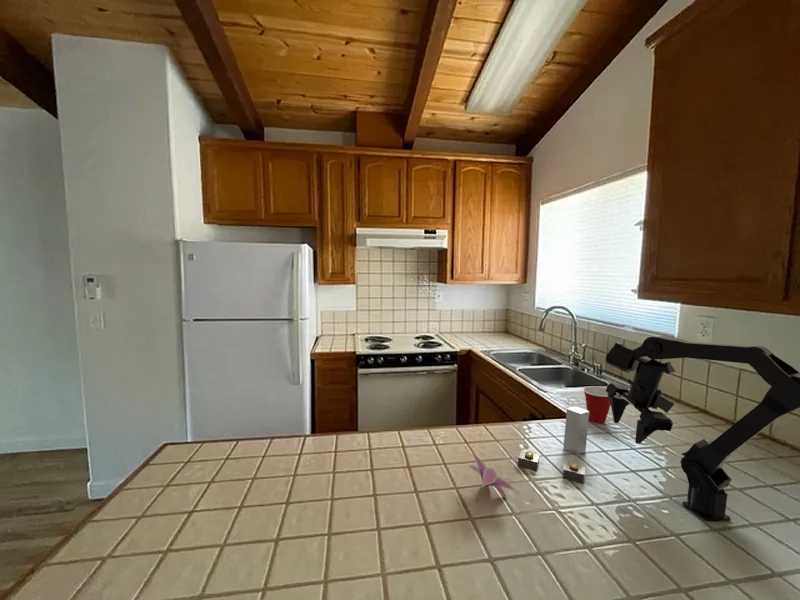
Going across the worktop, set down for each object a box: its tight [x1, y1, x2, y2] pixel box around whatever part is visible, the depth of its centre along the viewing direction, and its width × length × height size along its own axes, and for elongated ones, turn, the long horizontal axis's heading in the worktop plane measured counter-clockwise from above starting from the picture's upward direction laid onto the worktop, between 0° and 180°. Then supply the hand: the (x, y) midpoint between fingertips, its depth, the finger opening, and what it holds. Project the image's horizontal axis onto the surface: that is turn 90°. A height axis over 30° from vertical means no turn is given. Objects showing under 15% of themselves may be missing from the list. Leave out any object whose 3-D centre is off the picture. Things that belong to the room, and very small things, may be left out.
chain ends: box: [517, 450, 586, 485], centre depth 102 cm, size 16×5×3 cm, turn 63°
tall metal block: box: [562, 406, 590, 457], centre depth 115 cm, size 4×4×13 cm
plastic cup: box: [582, 385, 611, 424], centre depth 142 cm, size 11×11×12 cm
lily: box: [468, 452, 516, 503], centre depth 88 cm, size 12×12×10 cm
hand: (626, 432), depth 102 cm, fingers open, 9 cm apart
